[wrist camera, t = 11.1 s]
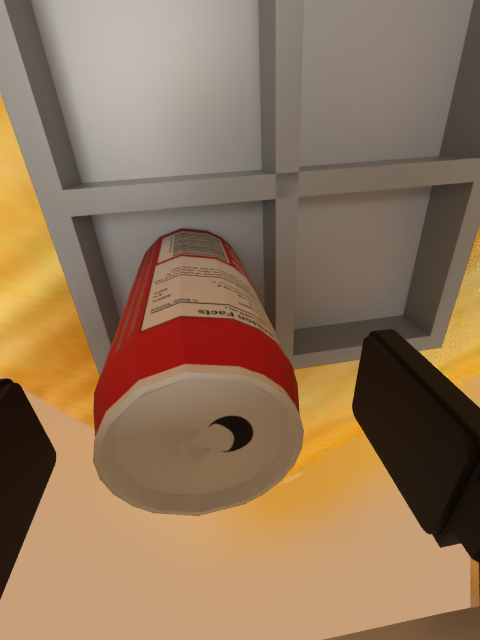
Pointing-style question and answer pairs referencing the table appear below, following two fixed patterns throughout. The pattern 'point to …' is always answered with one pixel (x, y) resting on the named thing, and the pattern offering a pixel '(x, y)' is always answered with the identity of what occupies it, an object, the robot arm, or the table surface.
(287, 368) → the soda can
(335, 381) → the table surface
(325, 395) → the table surface
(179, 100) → the drink carrier
